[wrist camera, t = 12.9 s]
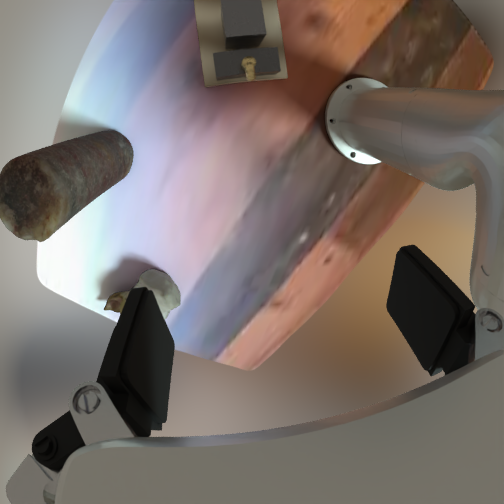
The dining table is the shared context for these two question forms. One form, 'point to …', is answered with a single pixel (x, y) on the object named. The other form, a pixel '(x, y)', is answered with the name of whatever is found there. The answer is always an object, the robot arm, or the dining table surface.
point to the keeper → (246, 63)
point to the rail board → (213, 42)
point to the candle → (60, 182)
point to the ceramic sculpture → (161, 288)
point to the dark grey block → (242, 23)
